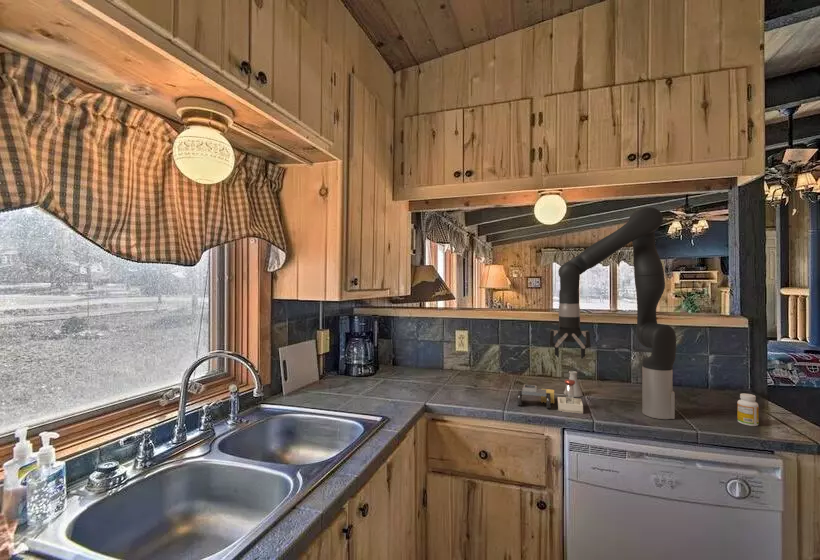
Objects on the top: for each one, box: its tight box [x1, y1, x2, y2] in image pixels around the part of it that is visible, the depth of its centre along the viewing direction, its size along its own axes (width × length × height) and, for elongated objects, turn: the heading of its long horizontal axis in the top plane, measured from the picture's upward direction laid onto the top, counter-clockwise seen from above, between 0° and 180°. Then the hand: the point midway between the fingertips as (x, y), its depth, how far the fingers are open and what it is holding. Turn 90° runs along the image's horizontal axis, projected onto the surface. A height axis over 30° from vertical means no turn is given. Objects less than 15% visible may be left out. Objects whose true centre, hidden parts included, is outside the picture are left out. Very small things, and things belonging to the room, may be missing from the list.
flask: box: [563, 370, 584, 398], centre depth 162 cm, size 7×7×10 cm
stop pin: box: [564, 378, 575, 404], centre depth 144 cm, size 4×4×10 cm
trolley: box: [517, 384, 552, 410], centre depth 149 cm, size 12×8×7 cm, turn 71°
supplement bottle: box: [736, 393, 760, 427], centre depth 130 cm, size 5×5×10 cm
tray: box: [557, 396, 584, 414], centre depth 144 cm, size 8×8×3 cm
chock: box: [540, 388, 555, 405], centre depth 154 cm, size 5×4×4 cm
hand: (569, 357), depth 145 cm, fingers open, 8 cm apart
